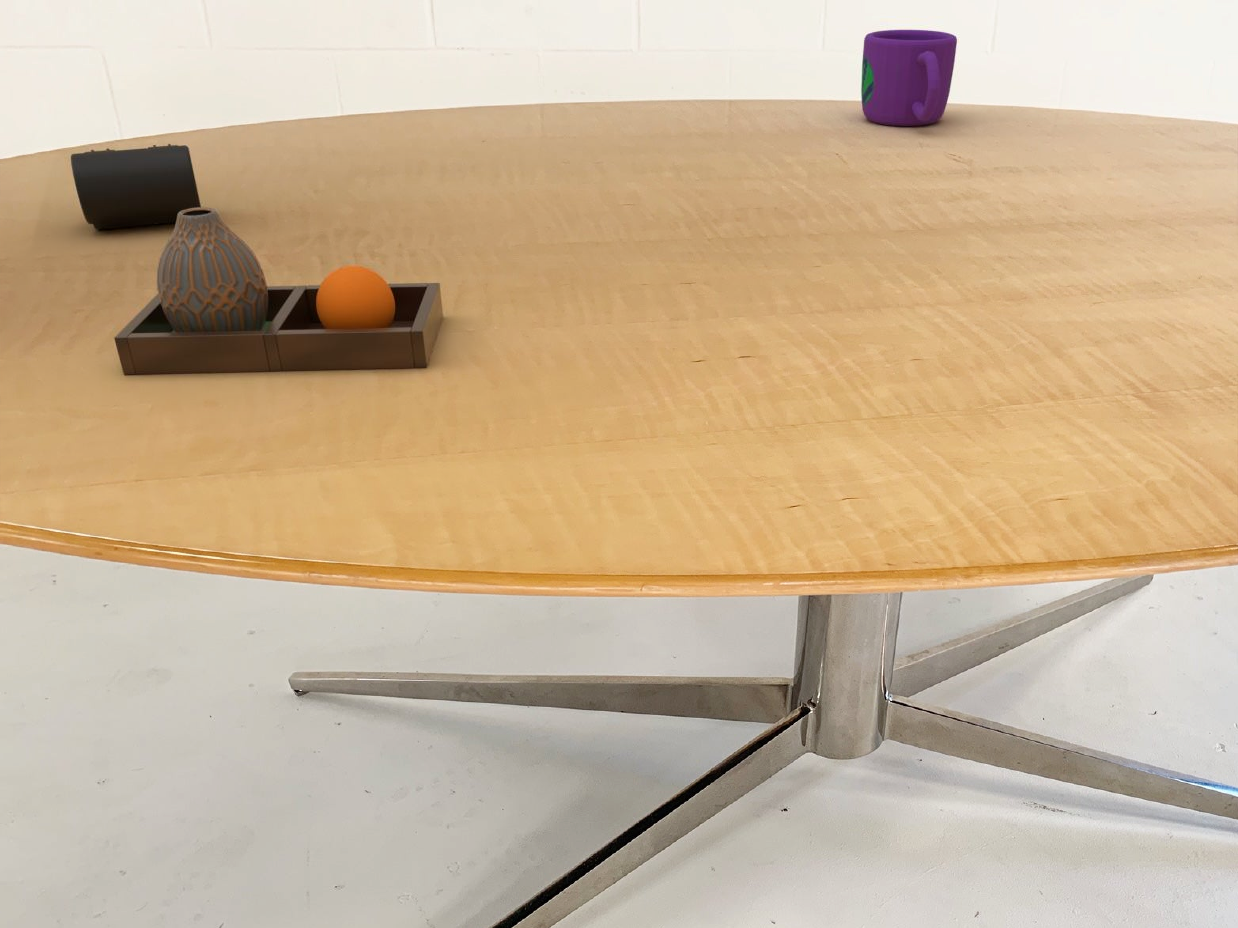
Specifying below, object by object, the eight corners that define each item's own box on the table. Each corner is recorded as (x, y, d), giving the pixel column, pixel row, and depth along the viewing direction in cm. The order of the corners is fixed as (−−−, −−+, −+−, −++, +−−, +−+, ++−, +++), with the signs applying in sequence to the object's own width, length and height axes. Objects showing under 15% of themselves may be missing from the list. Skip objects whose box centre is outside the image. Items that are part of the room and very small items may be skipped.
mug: (848, 113, 155) (854, 30, 149) (931, 111, 156) (940, 28, 150) (884, 139, 140) (892, 48, 135) (975, 137, 141) (987, 46, 136)
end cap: (89, 239, 105) (68, 161, 102) (91, 220, 111) (71, 145, 107) (205, 228, 108) (189, 151, 105) (201, 210, 114) (186, 137, 110)
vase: (163, 335, 81) (132, 206, 77) (263, 318, 84) (239, 193, 80) (180, 366, 76) (149, 231, 72) (286, 348, 79) (263, 216, 74)
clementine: (315, 356, 78) (303, 280, 76) (330, 330, 83) (318, 257, 80) (394, 355, 79) (383, 278, 76) (404, 328, 83) (395, 255, 80)
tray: (125, 383, 76) (113, 337, 74) (172, 330, 85) (162, 288, 83) (428, 376, 77) (422, 331, 75) (444, 324, 85) (439, 282, 84)
